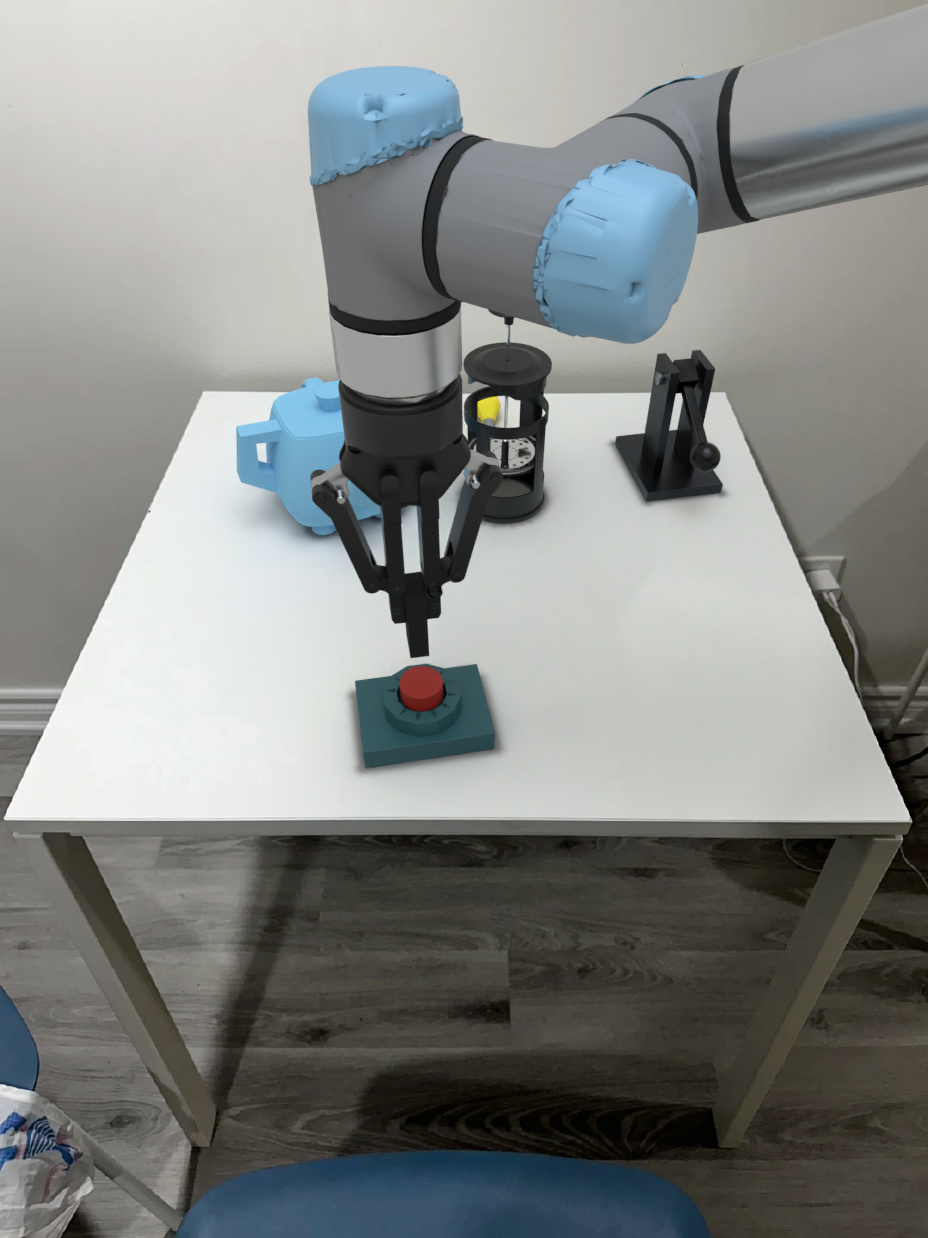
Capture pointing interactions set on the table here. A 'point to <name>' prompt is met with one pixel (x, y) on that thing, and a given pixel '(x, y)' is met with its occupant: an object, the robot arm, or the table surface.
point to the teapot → (299, 452)
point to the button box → (423, 719)
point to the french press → (515, 448)
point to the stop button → (421, 688)
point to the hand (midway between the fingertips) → (417, 644)
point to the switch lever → (695, 418)
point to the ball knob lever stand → (669, 438)
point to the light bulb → (488, 410)
